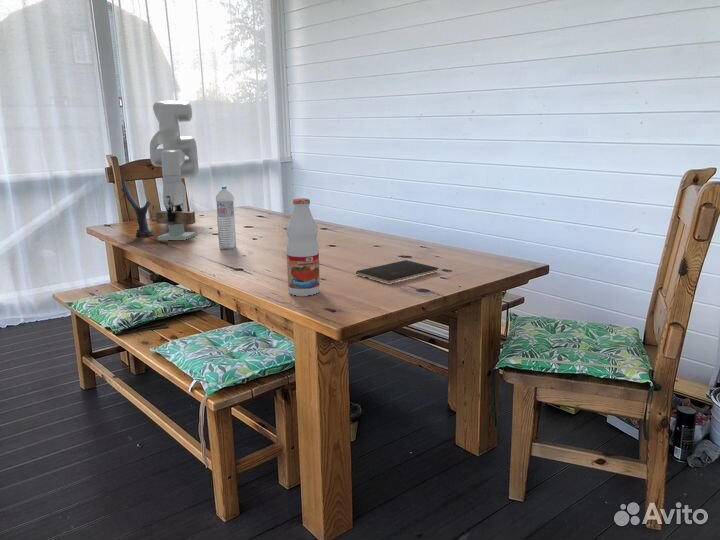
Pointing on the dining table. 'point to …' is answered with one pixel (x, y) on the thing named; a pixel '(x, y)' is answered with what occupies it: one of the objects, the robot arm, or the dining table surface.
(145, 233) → the antler
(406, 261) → the hardcover book
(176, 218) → the walnut bar
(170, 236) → the block
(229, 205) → the water bottle
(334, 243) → the dining table surface
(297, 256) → the fruit juice
